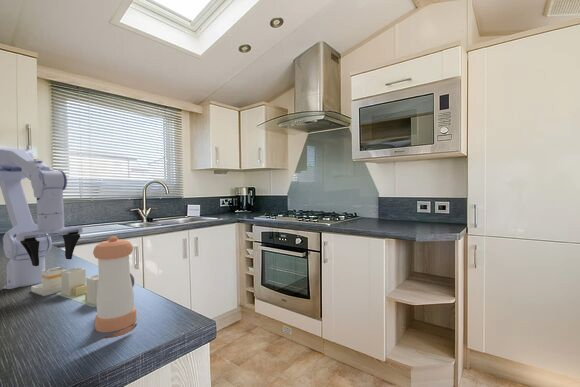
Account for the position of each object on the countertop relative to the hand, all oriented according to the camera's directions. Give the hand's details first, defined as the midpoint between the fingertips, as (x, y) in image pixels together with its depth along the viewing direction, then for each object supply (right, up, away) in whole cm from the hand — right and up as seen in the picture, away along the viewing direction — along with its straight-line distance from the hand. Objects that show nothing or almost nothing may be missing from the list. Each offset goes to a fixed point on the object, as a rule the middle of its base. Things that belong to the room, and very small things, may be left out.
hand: (52, 262), depth 81 cm
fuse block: (+13, -9, -6) cm, 17 cm away
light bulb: (+27, -9, -14) cm, 31 cm away
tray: (0, -9, 0) cm, 9 cm away
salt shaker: (+31, -9, -21) cm, 38 cm away
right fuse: (+19, -8, -9) cm, 22 cm away
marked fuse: (0, -8, 0) cm, 8 cm away
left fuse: (+8, -8, -2) cm, 11 cm away
